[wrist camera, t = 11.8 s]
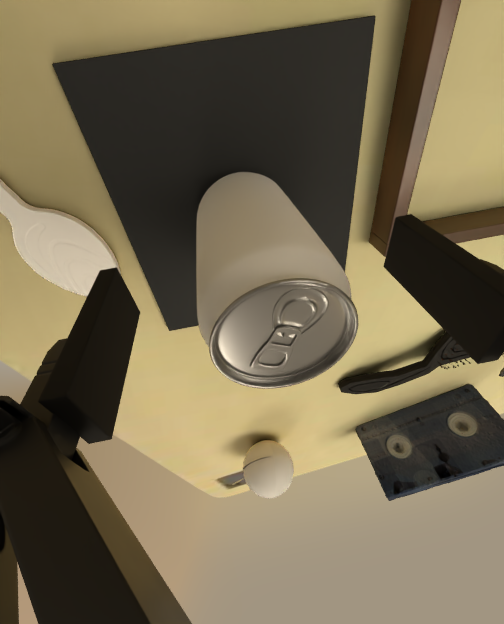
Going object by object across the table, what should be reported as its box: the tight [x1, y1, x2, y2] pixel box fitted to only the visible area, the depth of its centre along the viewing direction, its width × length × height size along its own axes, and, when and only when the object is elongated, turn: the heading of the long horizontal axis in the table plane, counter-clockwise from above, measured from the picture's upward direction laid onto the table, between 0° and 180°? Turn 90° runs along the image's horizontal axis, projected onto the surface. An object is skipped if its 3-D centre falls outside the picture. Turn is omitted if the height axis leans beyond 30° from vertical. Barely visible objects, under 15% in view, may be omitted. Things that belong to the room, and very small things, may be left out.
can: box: [196, 172, 358, 388], centre depth 15 cm, size 6×6×12 cm
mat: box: [53, 16, 375, 331], centre depth 19 cm, size 18×16×1 cm
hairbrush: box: [338, 332, 504, 394], centre depth 32 cm, size 8×4×25 cm
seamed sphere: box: [232, 440, 294, 498], centre depth 40 cm, size 10×7×7 cm
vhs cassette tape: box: [356, 384, 504, 501], centre depth 40 cm, size 18×3×10 cm, turn 116°
